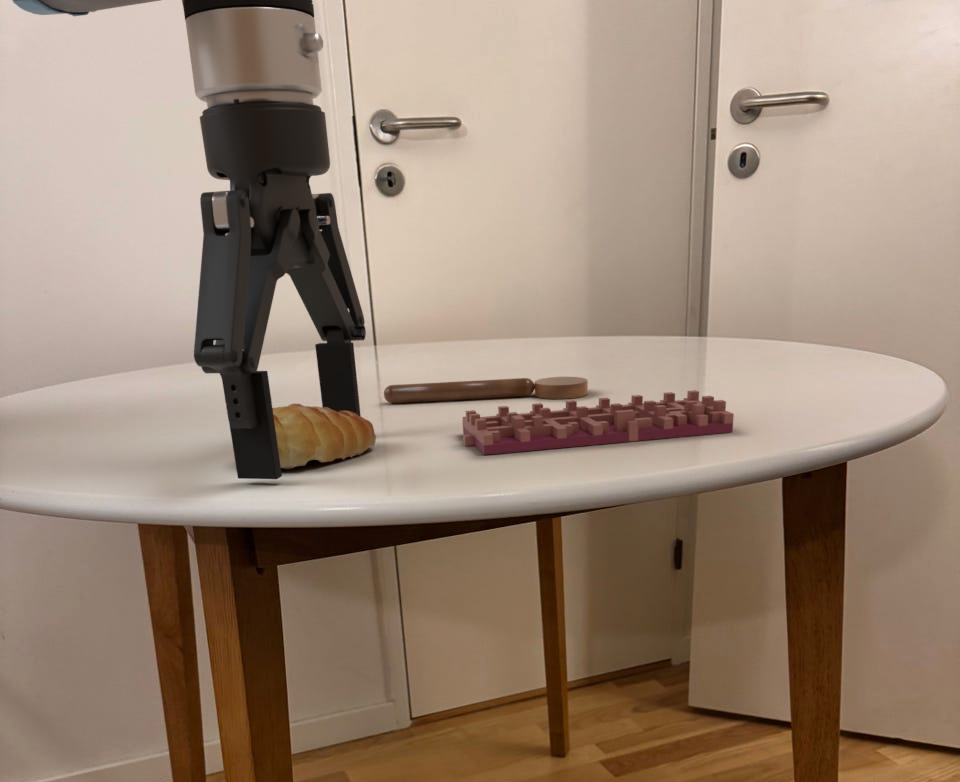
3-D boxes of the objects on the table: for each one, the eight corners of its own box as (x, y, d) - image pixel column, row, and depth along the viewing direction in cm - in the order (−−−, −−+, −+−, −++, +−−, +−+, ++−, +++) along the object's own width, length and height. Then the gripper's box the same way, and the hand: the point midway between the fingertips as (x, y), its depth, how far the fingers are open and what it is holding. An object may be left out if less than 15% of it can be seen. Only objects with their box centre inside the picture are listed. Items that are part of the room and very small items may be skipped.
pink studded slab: (454, 435, 70) (453, 408, 69) (690, 414, 74) (691, 389, 73) (474, 455, 64) (473, 426, 63) (732, 432, 67) (734, 404, 66)
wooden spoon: (383, 408, 82) (381, 389, 81) (385, 399, 86) (384, 381, 86) (591, 397, 82) (591, 378, 82) (583, 388, 87) (583, 371, 86)
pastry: (347, 439, 71) (342, 387, 69) (396, 453, 66) (392, 398, 64) (232, 461, 65) (224, 406, 64) (276, 478, 61) (269, 419, 59)
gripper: (210, 72, 45) (272, 503, 53) (391, 117, 66) (414, 417, 75) (76, 86, 47) (157, 500, 55) (295, 125, 68) (328, 417, 77)
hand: (305, 453), depth 65 cm, fingers open, 13 cm apart
